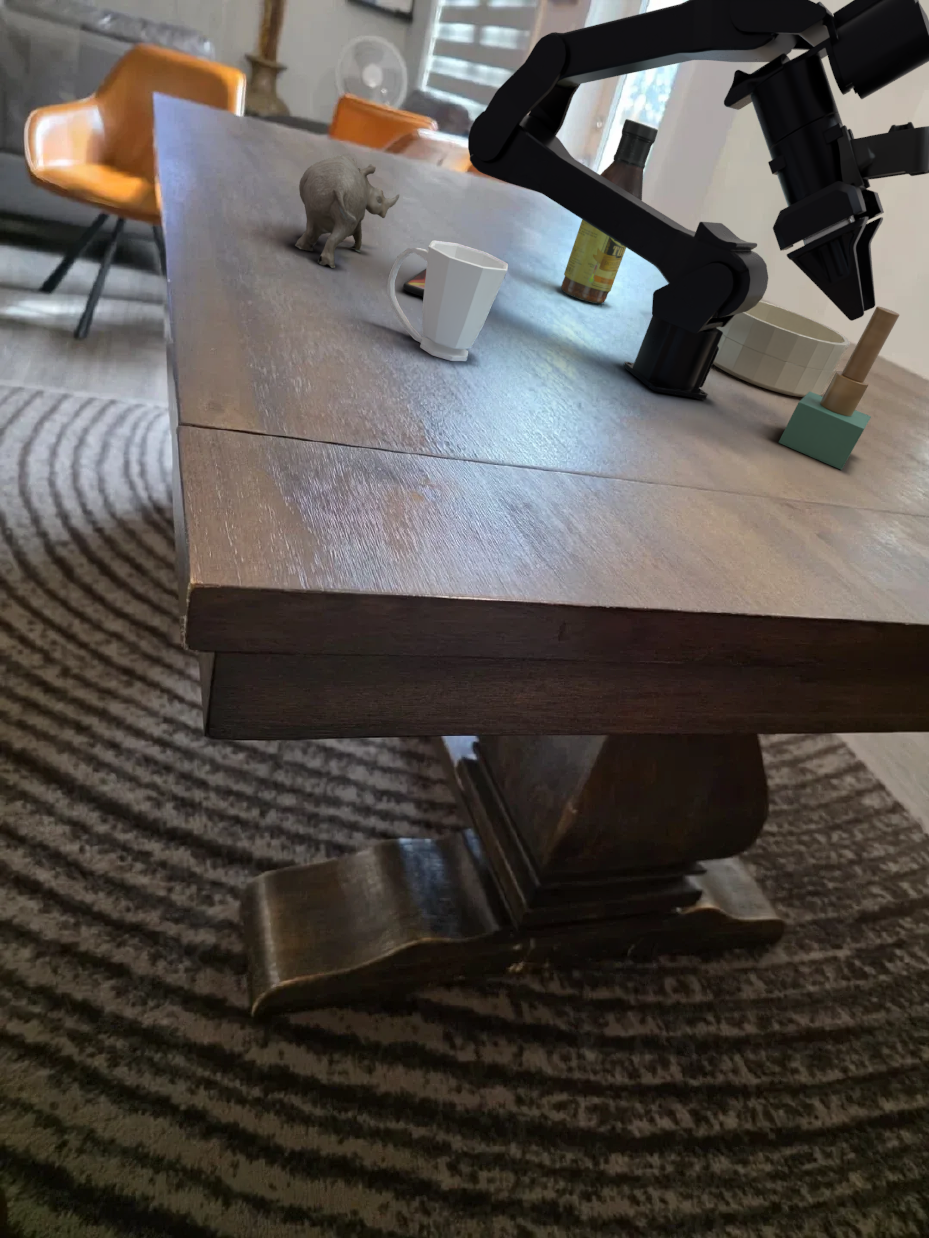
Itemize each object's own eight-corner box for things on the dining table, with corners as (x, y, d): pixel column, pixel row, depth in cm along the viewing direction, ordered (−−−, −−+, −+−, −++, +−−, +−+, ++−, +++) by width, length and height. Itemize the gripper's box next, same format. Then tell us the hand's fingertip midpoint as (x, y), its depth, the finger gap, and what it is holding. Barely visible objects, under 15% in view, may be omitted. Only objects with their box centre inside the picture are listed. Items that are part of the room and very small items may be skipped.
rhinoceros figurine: (256, 220, 83) (322, 86, 84) (282, 283, 97) (339, 167, 98) (330, 254, 83) (395, 119, 84) (345, 312, 97) (401, 196, 98)
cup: (461, 373, 70) (489, 272, 66) (359, 329, 72) (379, 228, 68) (496, 360, 76) (524, 267, 71) (400, 319, 78) (421, 226, 74)
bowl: (745, 390, 92) (773, 331, 88) (672, 340, 103) (695, 285, 99) (847, 408, 98) (877, 353, 95) (768, 358, 109) (792, 307, 106)
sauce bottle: (594, 308, 105) (656, 128, 95) (550, 289, 107) (606, 112, 97) (613, 304, 111) (674, 134, 100) (572, 287, 113) (627, 118, 102)
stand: (778, 442, 78) (798, 401, 76) (789, 430, 83) (809, 391, 81) (841, 470, 77) (864, 429, 75) (849, 455, 82) (871, 416, 79)
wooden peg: (834, 414, 76) (888, 313, 71) (813, 400, 78) (863, 301, 74) (858, 418, 77) (912, 319, 73) (836, 404, 80) (888, 307, 75)
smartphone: (401, 283, 86) (434, 261, 98) (399, 291, 86) (433, 268, 99) (472, 305, 85) (496, 280, 98) (470, 314, 86) (494, 288, 98)
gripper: (898, 56, 59) (966, 275, 62) (915, 89, 74) (969, 265, 77) (742, 146, 66) (810, 341, 68) (786, 160, 80) (841, 319, 83)
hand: (863, 313), depth 74 cm, fingers open, 9 cm apart
